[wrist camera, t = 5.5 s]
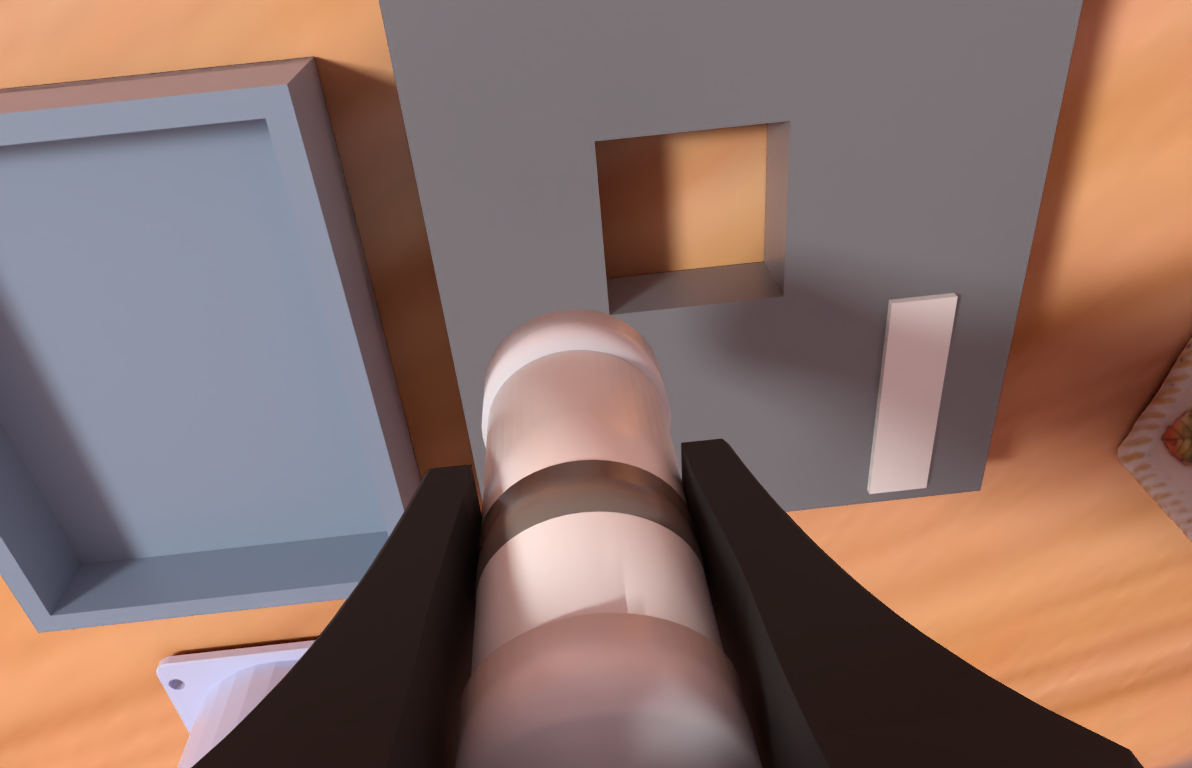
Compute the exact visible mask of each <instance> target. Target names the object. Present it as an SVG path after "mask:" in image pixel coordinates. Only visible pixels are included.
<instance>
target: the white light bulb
mask: <svg viewBox="0 0 1192 768" xmlns="http://www.w3.org/2000/svg"><path fill="white" fill-rule="evenodd" d="M670 428H671V411H670V405H669V401H668V397H667V393H666V389H665V385H664V382H663V378H662V374H661V370H660V366H659V363H658V360H657V357H656V355H655V353H654V351H653V349H652V348H651V346H650V345H649V343H648V342H647V341H646V340H645V338H644V337H643V336H642V335H641V334H640V333H639V332H638V331H636V330H635V329H634V328H633V327H631V326H630V325H628V324H627V323H625V322H624V321H622V320H619V319H617V318H615V317H613V316H610V315H607V314H604V313H601V312H596V311H590V310H579V309H575V310H562V311H555V312H551V313H547V314H544V315H541V316H538V317H536V318H533V319H531V320H529V321H527V322H526V323H524V324H522V325H520V326H519V327H518V328H516V329H515V330H514V331H512V332H511V333H510V334H509V335H508V336H507V337H506V338H505V339H504V340H503V341H502V342H501V343H500V345H499V346H498V347H497V349H496V350H495V352H494V354H493V355H492V357H491V359H490V362H489V365H488V367H487V371H486V376H485V385H484V398H483V411H482V436H483V440H484V444H485V447H486V457H485V472H484V487H483V503H482V518H481V529H480V533H479V541H478V555H477V570H476V585H475V600H474V602H475V624H474V639H473V654H472V669H471V677H470V678H469V680H468V682H467V684H466V687H465V689H464V691H463V694H462V698H461V702H460V712H459V725H458V738H457V751H456V764H455V768H762V764H761V761H760V757H759V753H758V749H757V745H756V741H755V737H754V733H753V729H752V725H751V721H750V718H749V714H748V710H747V706H746V702H745V698H744V694H743V690H742V686H741V683H740V679H739V676H738V673H737V671H736V669H735V667H734V665H733V663H732V662H731V660H730V659H729V658H728V656H727V655H726V654H725V653H724V650H723V646H722V642H721V638H720V634H719V630H718V626H717V622H716V618H715V614H714V610H713V605H712V601H711V597H710V593H709V589H708V582H707V574H706V570H705V566H704V562H703V558H702V554H701V550H700V546H699V543H698V539H697V535H696V531H695V527H694V523H693V519H692V515H691V513H690V511H689V508H688V504H687V500H686V496H685V492H684V488H683V484H682V479H681V475H680V471H679V467H678V463H677V459H676V454H675V450H674V446H673V442H672V438H671V434H670Z"/></svg>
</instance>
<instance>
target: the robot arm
mask: <svg viewBox="0 0 1192 768" xmlns="http://www.w3.org/2000/svg"><path fill="white" fill-rule="evenodd" d="M681 464H682V484H683V488H684V492H685V496H686V500H687V504H688V508H689V511H690V513H691V515H692V519H693V523H694V527H695V531H696V535H697V539H698V543H699V546H700V550H701V554H702V558H703V562H704V566H705V570H706V574H707V582H708V589H709V593H710V597H711V601H712V605H713V610H714V614H715V618H716V622H717V626H718V630H719V634H720V638H721V642H722V646H723V650H724V653H725V654H726V655H727V656H728V658H729V659H730V660H731V662H732V663H733V665H734V667H735V669H736V671H737V673H738V676H739V679H740V683H741V686H742V690H743V694H744V698H745V702H746V706H747V710H748V714H749V718H750V721H751V725H752V729H753V733H754V737H755V741H756V745H757V749H758V753H759V757H760V761H761V764H762V768H1144V767H1143V766H1142V765H1141V764H1140V762H1139V761H1138V760H1137V758H1136V757H1135V756H1134V754H1133V753H1132V752H1131V751H1130V750H1129V749H1127V748H1125V747H1123V746H1121V745H1119V744H1117V743H1115V742H1113V741H1111V740H1109V739H1107V738H1105V737H1103V736H1101V735H1099V734H1097V733H1095V732H1093V731H1091V730H1089V729H1087V728H1085V727H1083V726H1081V725H1079V724H1077V723H1075V722H1073V721H1071V720H1069V719H1066V718H1064V717H1062V716H1060V715H1058V714H1056V713H1054V712H1052V711H1050V710H1048V709H1046V708H1044V707H1043V706H1041V705H1039V704H1037V703H1035V702H1033V701H1032V700H1030V699H1028V698H1026V697H1025V696H1023V695H1021V694H1019V693H1018V692H1016V691H1014V690H1012V689H1011V688H1009V687H1007V686H1005V685H1004V684H1002V683H1000V682H998V681H997V680H995V679H993V678H991V677H990V676H988V675H986V674H985V673H983V672H981V671H980V670H978V669H977V668H975V667H973V666H972V665H970V664H969V663H967V662H966V661H964V660H963V659H961V658H960V657H958V656H957V655H955V654H954V653H952V652H951V651H949V650H948V649H946V648H944V647H943V646H941V645H940V644H938V643H937V642H935V641H934V640H932V639H931V638H929V637H928V636H926V635H925V634H923V633H922V632H920V631H919V630H918V629H916V628H915V627H914V626H912V625H911V624H910V623H908V622H907V621H906V620H904V619H903V618H901V617H900V616H899V615H897V614H896V613H895V612H894V611H892V610H891V609H890V608H888V607H887V606H886V605H885V604H883V603H882V602H881V601H880V600H878V599H877V598H876V597H875V596H873V595H872V594H871V593H870V592H869V591H867V590H866V589H865V588H864V587H863V586H861V585H860V584H859V583H858V582H857V581H856V580H855V579H853V578H852V577H851V576H850V575H849V574H848V573H847V572H845V571H844V570H843V569H842V568H841V567H840V566H839V565H838V564H837V563H836V562H835V561H834V560H833V559H831V558H830V557H829V556H828V555H827V554H826V553H825V552H824V551H823V550H822V549H821V548H820V547H819V546H818V545H817V544H816V543H815V542H814V541H813V540H812V539H811V538H810V537H809V536H808V535H807V534H806V533H805V532H804V531H803V530H802V529H801V528H800V527H799V526H798V525H797V524H796V523H795V522H794V521H793V520H792V519H791V517H790V516H789V515H788V514H787V513H786V512H785V511H784V510H783V509H782V508H781V507H780V506H779V505H778V504H777V502H776V501H775V500H774V499H773V498H772V497H771V496H770V495H769V493H768V492H767V491H766V490H765V489H764V487H763V486H762V485H761V484H760V483H759V482H758V480H757V479H756V478H755V477H754V476H753V474H752V473H751V472H750V471H749V469H748V468H747V467H746V466H745V464H744V463H743V462H742V460H741V459H740V458H739V457H738V455H737V454H736V453H735V451H734V450H733V449H732V447H731V446H730V444H728V443H727V442H726V441H725V440H724V439H712V440H702V441H693V442H683V443H681ZM481 518H482V516H481V511H480V506H479V501H478V496H477V491H476V486H475V481H474V476H473V470H472V465H463V466H453V467H443V468H434V469H429V471H428V472H427V473H426V474H425V475H424V476H423V478H422V480H421V482H420V484H419V486H418V488H417V489H416V491H415V493H414V495H413V497H412V498H411V500H410V502H409V504H408V506H407V507H406V509H405V511H404V513H403V514H402V516H401V518H400V519H399V521H398V523H397V524H396V526H395V528H394V529H393V531H392V533H391V534H390V536H389V538H388V539H387V541H386V542H385V544H384V545H383V547H382V549H381V550H380V552H379V553H378V555H377V556H376V558H375V559H374V561H373V563H372V564H371V566H370V567H369V569H368V570H367V572H366V573H365V575H364V576H363V578H362V579H361V580H360V582H359V583H358V585H357V586H356V587H355V589H354V590H353V591H352V593H351V594H350V596H349V597H348V598H347V600H346V601H345V602H344V604H343V605H342V607H341V608H340V609H339V611H338V612H337V613H336V615H335V616H334V618H333V619H332V620H331V621H330V623H329V624H328V625H327V627H326V628H325V629H324V630H323V632H322V633H321V634H320V635H319V637H318V638H317V639H316V640H311V641H302V642H293V643H284V644H275V645H266V646H257V647H248V648H239V649H230V650H221V651H212V652H203V653H194V654H185V655H176V656H169V657H165V658H163V659H162V660H161V661H160V663H159V665H158V668H157V670H156V673H157V676H158V678H159V680H160V682H161V683H162V685H163V687H164V689H165V690H166V692H167V694H168V696H169V698H170V699H171V701H172V703H173V705H174V707H175V708H176V710H177V712H178V714H179V715H180V717H181V719H182V721H183V723H184V724H185V726H186V728H187V730H188V731H189V733H190V735H189V738H188V741H187V743H186V746H185V749H184V751H183V754H182V757H181V759H180V762H179V765H178V767H177V768H455V764H456V751H457V738H458V725H459V712H460V702H461V698H462V694H463V691H464V689H465V687H466V684H467V682H468V680H469V678H470V677H471V669H472V654H473V639H474V624H475V602H474V600H475V585H476V570H477V555H478V541H479V533H480V529H481Z"/></svg>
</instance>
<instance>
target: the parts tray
mask: <svg viewBox="0 0 1192 768" xmlns="http://www.w3.org/2000/svg"><path fill="white" fill-rule="evenodd" d="M420 482H421V477H420V473H419V469H418V465H417V461H416V457H415V453H414V449H413V445H412V441H411V437H410V433H409V430H408V426H407V422H406V418H405V414H404V410H403V406H402V402H401V398H400V394H399V390H398V386H397V382H396V378H395V374H394V370H393V366H392V362H391V358H390V354H389V350H388V347H387V343H386V339H385V335H384V331H383V327H382V323H381V319H380V315H379V311H378V307H377V303H376V299H375V295H374V291H373V287H372V283H371V279H370V275H369V271H368V267H367V264H366V260H365V256H364V252H363V248H362V244H361V240H360V236H359V232H358V228H357V224H356V220H355V216H354V212H353V208H352V204H351V200H350V196H349V192H348V188H347V185H346V181H345V177H344V173H343V169H342V165H341V161H340V157H339V153H338V149H337V145H336V141H335V137H334V133H333V129H332V125H331V121H330V117H329V113H328V109H327V105H326V102H325V98H324V94H323V90H322V86H321V82H320V78H319V74H318V70H317V66H316V62H315V58H314V57H305V58H295V59H286V60H276V61H266V62H257V63H247V64H237V65H228V66H218V67H208V68H199V69H189V70H179V71H170V72H160V73H150V74H141V75H131V76H121V77H112V78H102V79H92V80H83V81H73V82H63V83H54V84H44V85H34V86H25V87H15V88H5V89H0V575H1V576H2V578H3V579H4V581H5V582H6V584H7V585H8V587H9V588H10V590H11V592H12V593H13V595H14V596H15V598H16V599H17V601H18V602H19V604H20V605H21V607H22V608H23V610H24V612H25V613H26V615H27V616H28V618H29V619H30V621H31V622H32V624H33V625H34V627H35V628H36V630H37V632H38V633H41V632H50V631H59V630H68V629H77V628H86V627H95V626H104V625H113V624H122V623H131V622H140V621H150V620H159V619H168V618H177V617H186V616H195V615H204V614H213V613H222V612H231V611H240V610H249V609H258V608H267V607H276V606H285V605H294V604H303V603H312V602H322V601H331V600H340V599H347V598H348V597H349V596H350V594H351V593H352V591H353V590H354V589H355V587H356V586H357V585H358V583H359V582H360V580H361V579H362V578H363V576H364V575H365V573H366V572H367V570H368V569H369V567H370V566H371V564H372V563H373V561H374V559H375V558H376V556H377V555H378V553H379V552H380V550H381V549H382V547H383V545H384V544H385V542H386V541H387V539H388V538H389V536H390V534H391V533H392V531H393V529H394V528H395V526H396V524H397V523H398V521H399V519H400V518H401V516H402V514H403V513H404V511H405V509H406V507H407V506H408V504H409V502H410V500H411V498H412V497H413V495H414V493H415V491H416V489H417V488H418V486H419V484H420Z"/></svg>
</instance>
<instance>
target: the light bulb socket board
mask: <svg viewBox="0 0 1192 768" xmlns="http://www.w3.org/2000/svg"><path fill="white" fill-rule="evenodd" d="M1082 3H1083V0H379V4H380V8H381V13H382V18H383V23H384V28H385V33H386V38H387V42H388V47H389V52H390V57H391V62H392V67H393V71H394V76H395V81H396V86H397V91H398V96H399V101H400V105H401V110H402V115H403V120H404V125H405V130H406V134H407V139H408V144H409V149H410V154H411V159H412V163H413V168H414V173H415V178H416V183H417V188H418V193H419V197H420V202H421V207H422V212H423V217H424V222H425V226H426V231H427V236H428V241H429V246H430V251H431V256H432V260H433V265H434V270H435V275H436V280H437V285H438V289H439V294H440V299H441V304H442V309H443V314H444V319H445V323H446V328H447V333H448V338H449V343H450V348H451V352H452V357H453V362H454V367H455V372H456V377H457V381H458V386H459V391H460V396H461V401H462V406H463V411H464V415H465V420H466V425H467V430H468V435H469V440H470V444H471V449H472V454H473V459H474V464H475V469H476V474H477V478H478V483H479V488H480V493H481V498H482V503H483V487H484V472H485V457H486V447H485V444H484V440H483V436H482V411H483V398H484V385H485V376H486V371H487V367H488V365H489V362H490V359H491V357H492V355H493V354H494V352H495V350H496V349H497V347H498V346H499V345H500V343H501V342H502V341H503V340H504V339H505V338H506V337H507V336H508V335H509V334H510V333H511V332H512V331H514V330H515V329H516V328H518V327H519V326H520V325H522V324H524V323H526V322H527V321H529V320H531V319H533V318H536V317H538V316H541V315H544V314H547V313H551V312H555V311H562V310H575V309H579V310H590V311H596V312H601V313H604V314H607V315H610V316H613V317H615V318H617V319H619V320H622V321H624V322H625V323H627V324H628V325H630V326H631V327H633V328H634V329H635V330H636V331H638V332H639V333H640V334H641V335H642V336H643V337H644V338H645V340H646V341H647V342H648V343H649V345H650V346H651V348H652V349H653V351H654V353H655V355H656V357H657V360H658V363H659V366H660V370H661V374H662V378H663V382H664V385H665V389H666V393H667V397H668V401H669V405H670V411H671V428H670V434H671V438H672V442H673V446H674V450H675V454H676V459H677V463H678V467H679V471H680V475H681V479H682V464H681V443H683V442H693V441H702V440H712V439H724V440H725V441H726V442H727V443H728V444H730V446H731V447H732V449H733V450H734V451H735V453H736V454H737V455H738V457H739V458H740V459H741V460H742V462H743V463H744V464H745V466H746V467H747V468H748V469H749V471H750V472H751V473H752V474H753V476H754V477H755V478H756V479H757V480H758V482H759V483H760V484H761V485H762V486H763V487H764V489H765V490H766V491H767V492H768V493H769V495H770V496H771V497H772V498H773V499H774V500H775V501H776V502H777V504H778V505H779V506H780V507H781V508H782V509H783V510H784V511H785V512H789V511H798V510H807V509H816V508H825V507H834V506H843V505H852V504H861V503H871V502H880V501H889V500H898V499H907V498H916V497H925V496H934V495H943V494H952V493H961V492H971V491H980V490H981V485H982V480H983V475H984V471H985V466H986V461H987V456H988V452H989V447H990V442H991V437H992V432H993V428H994V423H995V418H996V413H997V409H998V404H999V399H1000V394H1001V389H1002V385H1003V380H1004V375H1005V370H1006V366H1007V361H1008V356H1009V351H1010V347H1011V342H1012V337H1013V332H1014V327H1015V323H1016V318H1017V313H1018V308H1019V304H1020V299H1021V294H1022V289H1023V285H1024V280H1025V275H1026V270H1027V265H1028V261H1029V256H1030V251H1031V246H1032V242H1033V237H1034V232H1035V227H1036V223H1037V218H1038V213H1039V208H1040V203H1041V199H1042V194H1043V189H1044V184H1045V180H1046V175H1047V170H1048V165H1049V160H1050V156H1051V151H1052V146H1053V141H1054V137H1055V132H1056V127H1057V122H1058V118H1059V113H1060V108H1061V103H1062V98H1063V94H1064V89H1065V84H1066V79H1067V75H1068V70H1069V65H1070V60H1071V56H1072V51H1073V46H1074V41H1075V36H1076V32H1077V27H1078V22H1079V17H1080V13H1081V8H1082ZM765 123H767V163H766V203H765V243H764V262H756V263H747V264H738V265H728V266H719V267H710V268H700V269H691V270H681V271H672V272H663V273H653V274H644V275H635V276H625V277H616V278H606V268H605V256H604V245H603V233H602V221H601V210H600V198H599V187H598V175H597V163H596V152H595V141H603V140H613V139H622V138H632V137H641V136H651V135H661V134H670V133H680V132H689V131H699V130H708V129H718V128H727V127H737V126H746V125H756V124H765Z"/></svg>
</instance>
